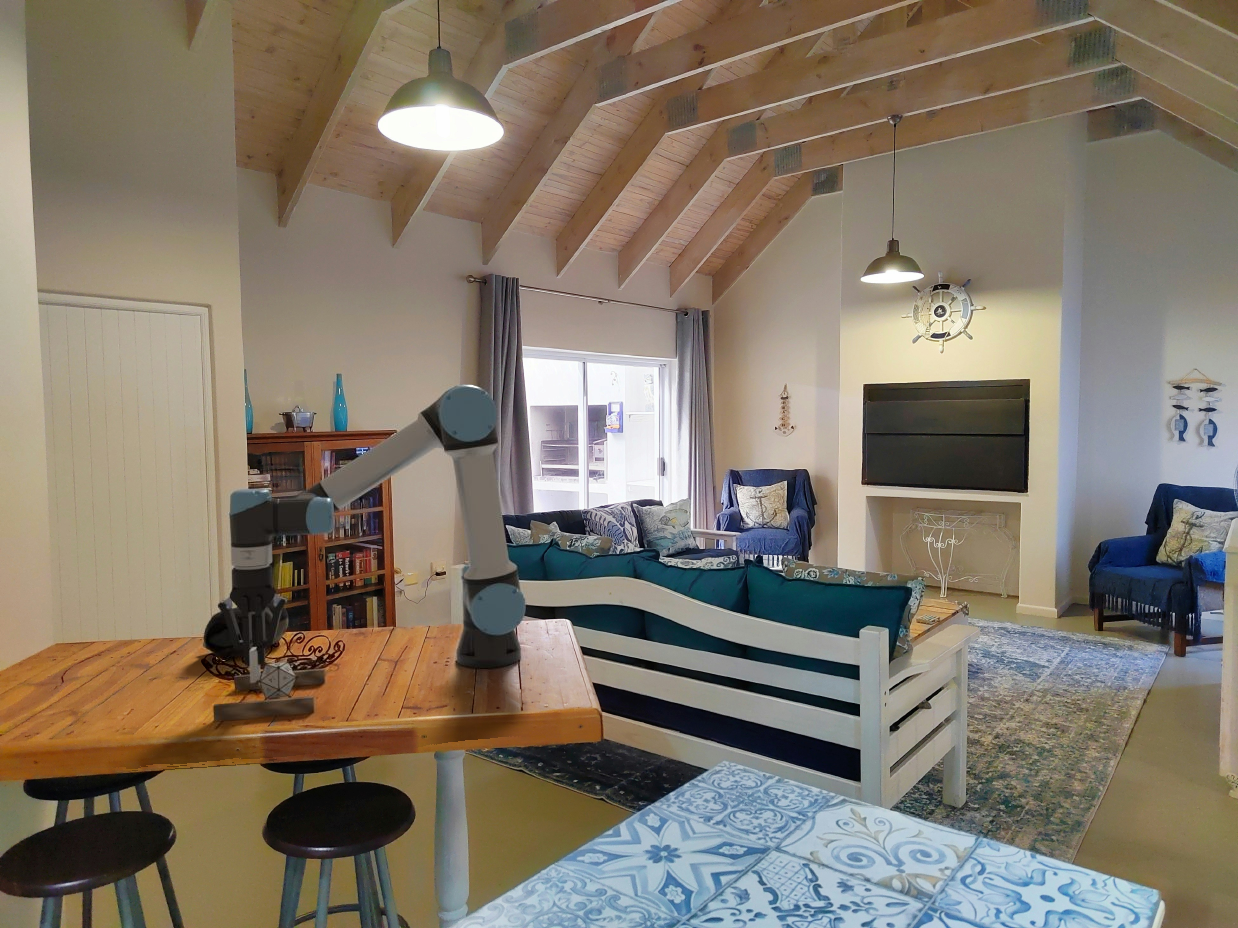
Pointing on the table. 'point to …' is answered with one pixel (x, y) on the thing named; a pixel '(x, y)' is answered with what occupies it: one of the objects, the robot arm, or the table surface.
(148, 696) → the table surface
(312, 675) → the walnut channel
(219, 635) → the black rounded lump
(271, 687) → the game die
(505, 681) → the table surface
